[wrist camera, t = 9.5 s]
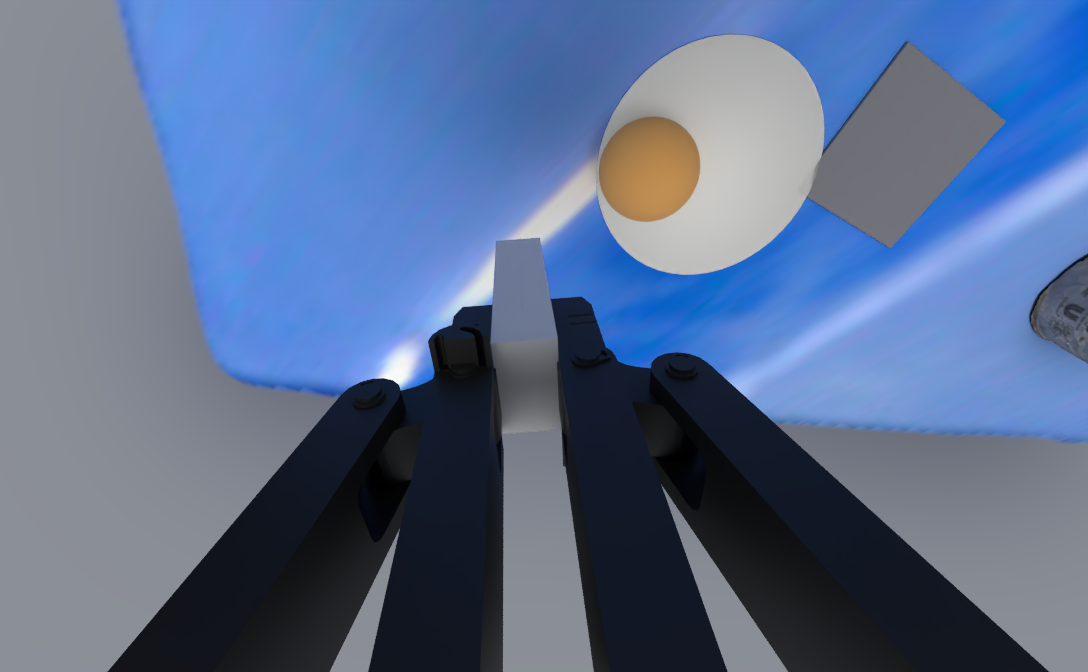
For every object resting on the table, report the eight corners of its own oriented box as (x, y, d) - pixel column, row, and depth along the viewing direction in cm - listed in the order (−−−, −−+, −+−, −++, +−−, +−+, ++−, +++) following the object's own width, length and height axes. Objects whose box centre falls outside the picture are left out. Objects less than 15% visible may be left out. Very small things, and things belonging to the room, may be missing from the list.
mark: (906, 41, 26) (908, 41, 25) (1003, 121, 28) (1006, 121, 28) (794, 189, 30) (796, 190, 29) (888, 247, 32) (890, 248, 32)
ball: (593, 108, 23) (640, 99, 27) (571, 211, 26) (615, 190, 30) (695, 143, 21) (730, 128, 25) (657, 249, 24) (692, 221, 28)
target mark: (782, -28, 24) (784, -29, 23) (846, 199, 30) (848, 200, 30) (553, 134, 27) (553, 135, 27) (655, 308, 33) (656, 309, 33)
